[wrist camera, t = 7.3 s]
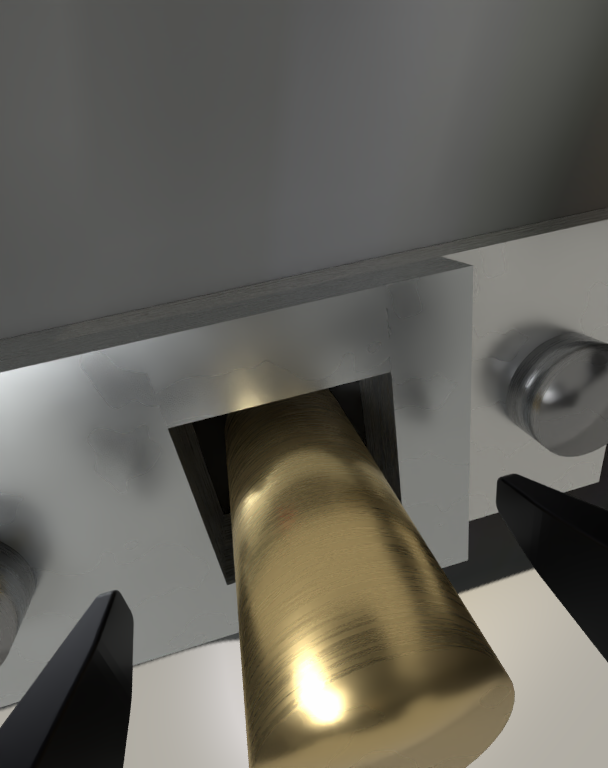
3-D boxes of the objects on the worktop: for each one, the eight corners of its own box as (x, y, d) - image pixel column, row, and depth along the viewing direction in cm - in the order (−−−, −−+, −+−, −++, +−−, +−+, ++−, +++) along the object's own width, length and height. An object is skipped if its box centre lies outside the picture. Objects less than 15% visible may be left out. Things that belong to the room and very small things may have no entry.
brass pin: (333, 361, 13) (524, 617, 5) (348, 460, 15) (507, 763, 7) (210, 391, 13) (216, 721, 5) (240, 490, 15) (280, 849, 7)
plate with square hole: (607, 207, 13) (784, 214, 9) (569, 459, 17) (676, 539, 14) (-196, 382, 10) (-448, 502, 6) (0, 626, 15) (-75, 785, 11)
